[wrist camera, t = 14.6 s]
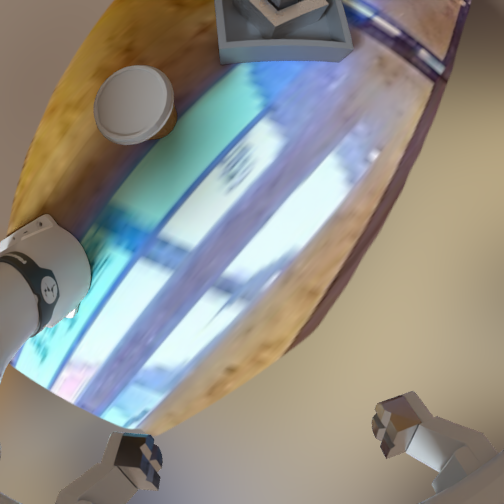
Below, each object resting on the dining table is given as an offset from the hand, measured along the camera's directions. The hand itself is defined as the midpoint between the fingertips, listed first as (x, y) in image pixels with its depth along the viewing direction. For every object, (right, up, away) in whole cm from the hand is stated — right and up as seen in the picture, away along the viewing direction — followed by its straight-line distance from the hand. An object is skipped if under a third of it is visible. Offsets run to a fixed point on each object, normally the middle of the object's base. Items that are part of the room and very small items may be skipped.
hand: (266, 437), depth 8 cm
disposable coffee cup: (-14, +26, +28) cm, 41 cm away
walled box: (+3, +43, +24) cm, 49 cm away
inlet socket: (+3, +43, +24) cm, 49 cm away
